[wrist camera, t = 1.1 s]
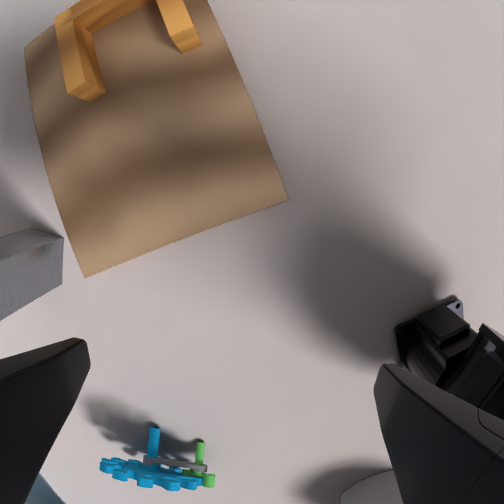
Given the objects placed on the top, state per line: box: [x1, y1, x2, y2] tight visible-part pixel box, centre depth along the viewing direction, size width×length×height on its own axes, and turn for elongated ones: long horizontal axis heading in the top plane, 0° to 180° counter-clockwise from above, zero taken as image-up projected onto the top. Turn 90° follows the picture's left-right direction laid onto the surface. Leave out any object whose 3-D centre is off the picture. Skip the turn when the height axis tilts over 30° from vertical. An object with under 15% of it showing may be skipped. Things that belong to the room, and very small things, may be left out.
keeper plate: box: [24, 0, 288, 278], centre depth 17 cm, size 22×16×4 cm
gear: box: [100, 427, 215, 491], centre depth 24 cm, size 11×6×10 cm
